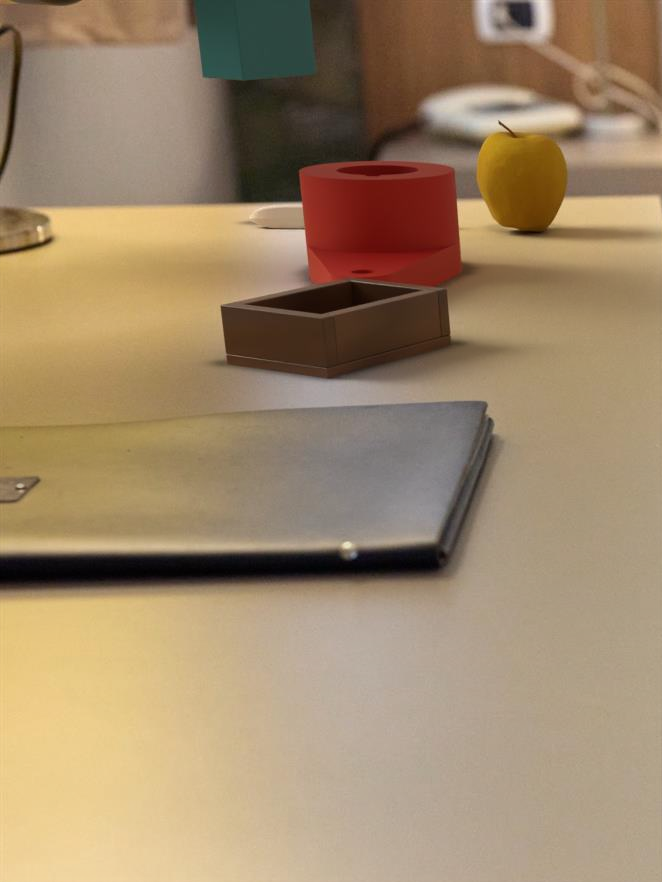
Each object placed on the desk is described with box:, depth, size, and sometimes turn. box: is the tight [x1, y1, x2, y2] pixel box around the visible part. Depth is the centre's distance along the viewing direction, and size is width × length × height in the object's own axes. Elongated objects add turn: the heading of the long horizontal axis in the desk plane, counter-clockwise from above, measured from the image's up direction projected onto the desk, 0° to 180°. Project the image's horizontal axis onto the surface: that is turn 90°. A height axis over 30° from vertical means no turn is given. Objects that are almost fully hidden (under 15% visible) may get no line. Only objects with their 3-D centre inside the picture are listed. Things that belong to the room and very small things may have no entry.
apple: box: [476, 119, 568, 233], centre depth 142 cm, size 6×6×8 cm
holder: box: [220, 277, 452, 380], centre depth 102 cm, size 10×7×3 cm
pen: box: [248, 203, 305, 229], centre depth 143 cm, size 2×14×2 cm, turn 97°
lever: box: [298, 160, 463, 287], centre depth 121 cm, size 18×9×7 cm, turn 10°
